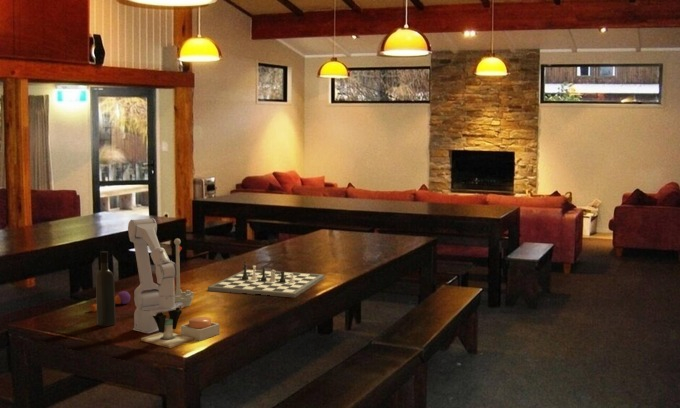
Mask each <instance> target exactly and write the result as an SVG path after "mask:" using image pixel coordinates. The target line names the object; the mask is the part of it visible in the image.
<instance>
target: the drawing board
mask: <svg viewBox="0 0 680 408" xmlns="http://www.w3.org/2000/svg"><path fill="white" fill-rule="evenodd" d="M140 341H141V342H146V343H149V344H154V345H157V346H159V347H160V346H161V347H164V348H165V347H166V348H169V349H171V348H174V347H177V346H181V345H183V344H187V343H189V342H192V341H195V339H194V338H192V337H188V336H184V335H181V333H180V334H179V333H175V332H173V338H172V339H163V333H161V332H157V333H154V334H150V335H148V336H144V337H141V338H140Z"/></svg>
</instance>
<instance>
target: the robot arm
mask: <svg viewBox="0 0 680 408" xmlns="http://www.w3.org/2000/svg"><path fill="white" fill-rule="evenodd" d="M127 230H128V238H129V241H130V242H131V243H133V246H134V252H135V258H136V265H137V271H138V276H139V285H138V286H137V287H136V288H135V289H134V295H133V296H134V298H133V299H134V305H135V307H136V309H135V310H134V313H133V324H134V325H133V328H132V331H137V332H139V333H140V332H141V333H144V334H152V333H155V332H158V333H160V332H161V333H164V330H165V319H167V315H165V314H164V313H168V316H169V318H170V319H173V330H176V329H177V325H178V321H179V318H180V316H181V315H182V313H183V312H182V311H183V310H182V309H183V308H184V307H183V303H180V302H179V303H175V295H174V294H175V292H176V291H175V278H176V275H177V268H176V262H174V261H172V260H170V258H169V255H168V254H167V251H166V249H165V248H164V247H161V245H160V241H159V239H158V236H157V230H158V224H157V221H156V219H155V218H154V217H150V218H143V219H130V220H129V222H128V225H127ZM148 247H149V248H148ZM149 249H150V251H151V252H150V255H149ZM150 257H151V260H152V262H153V265H154V266H155V276H156V282H157V283H155V282H154V279H153V275H152V274H153V273H152V267H151V261H150Z"/></svg>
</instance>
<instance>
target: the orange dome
mask: <svg viewBox="0 0 680 408" xmlns="http://www.w3.org/2000/svg"><path fill="white" fill-rule="evenodd" d="M211 322H212V318H211V317H207V316H196V317H191V318H190V319H188V323H189V327H191V328H195V329H204V328H207V327H210V326H211Z"/></svg>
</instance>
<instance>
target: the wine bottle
mask: <svg viewBox="0 0 680 408" xmlns="http://www.w3.org/2000/svg"><path fill="white" fill-rule="evenodd" d="M99 253H100V254H99V256H100V257H99V258H100V270H99V271H98V272H97V274H96V275H95V291H96V292H95V293H96V304H97V311H96V324H97V325H96V326H99V327H103V328H107V327H112V326H115V325H116V304H115V296H116V295H115V293H116V292H115V276H114V273H113V272H112V271H111V270H110V269H109V258H108V257H109V251H108V250H107V251H106V250H103V251H100V252H99Z"/></svg>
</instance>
